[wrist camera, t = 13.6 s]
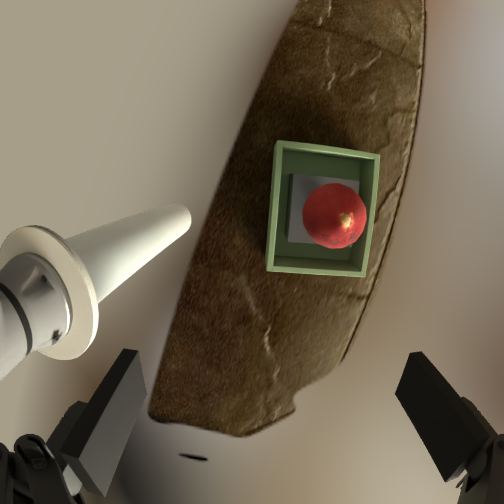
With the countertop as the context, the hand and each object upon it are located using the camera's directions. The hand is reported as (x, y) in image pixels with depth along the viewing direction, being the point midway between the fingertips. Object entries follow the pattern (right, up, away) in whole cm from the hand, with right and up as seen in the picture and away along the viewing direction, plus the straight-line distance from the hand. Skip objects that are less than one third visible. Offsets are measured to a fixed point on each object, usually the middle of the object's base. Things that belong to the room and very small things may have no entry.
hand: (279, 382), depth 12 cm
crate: (+6, +11, +21) cm, 24 cm away
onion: (+6, +10, +17) cm, 20 cm away
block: (+6, +11, +21) cm, 24 cm away
